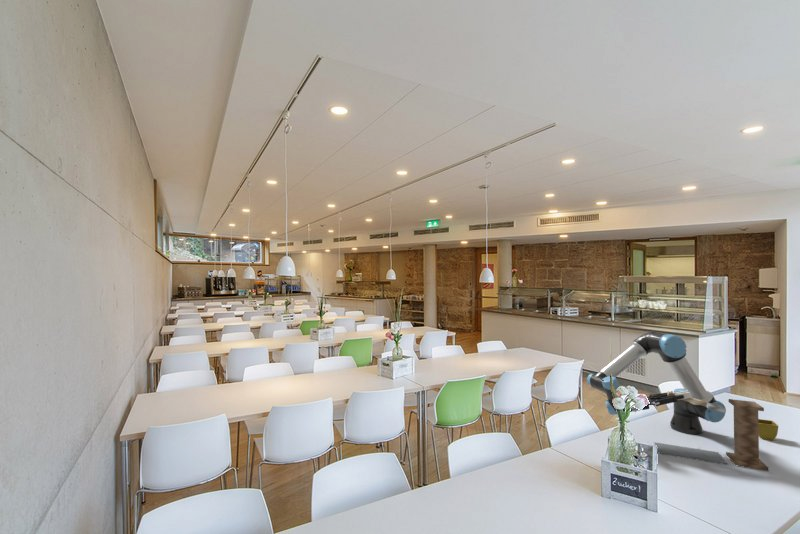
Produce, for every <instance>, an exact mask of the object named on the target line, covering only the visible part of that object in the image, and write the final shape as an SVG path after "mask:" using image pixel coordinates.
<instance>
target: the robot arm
mask: <svg viewBox="0 0 800 534" xmlns="http://www.w3.org/2000/svg"><path fill="white" fill-rule="evenodd" d="M651 353H655V354H658V355H659V357H660V358H661V360H662V361H663V362H664V363H666V364H668V365H669V366H670V368H671V370H672V371H673V373H674V374H675V376H676V378H677V380H678V381H679V383H680V384H681V385H682V387H683V388H675V389H674V390H673V391H670V392H673V393H676V394H675V395H673V396H668V395H667V393H668V391H667V392H661V393H655V394H649V396H646V397H647V398H648V400H649V402H650V404H648V405H647V406H645V407H644V408H643V409H640V410H638V409H636V408H634V407H632V408H631V411H630V412H629V413H631V412H632V413H633V412H634V413H637V412H639V411H641V410H642V411H645V410H650V406H655V407H659V406H663V405H668V404H672V403H673V415H672V417H671V420H670V422H669V423H670V424H669V427H670V426H671V427H670V428H671V429H673V430H674V431H677V432H680V433H685V434H690V435H701V433H702V432H704V431H703V429H704V428H703V426H702V423H701V421H700V418H701V419H703V420H705V421H707V422H711V423H719V422H721V421H722V420H723V419H724V418H725V416H726V413H727V409H726V405H725V404H724V403H723V402H721V401H719V400H717V399H716V398H715V396H714V395H713V394H712V392H711V391H710V390H709V391H708V390H706V388H705V387H704V385H703V384H702V382H701V380H700V379H699V377H698V376H697V374H696V371H694V369H693V367H692V365H691V364H690V363H689V361H688V359H687V358H686V357H687V344H686V342H685V340H684V339H682V338H681V336H678V335H675V334H671V333H665V332H659V331H649V332H645V333H644V334H641V335H639V336H638V337H637V338H635V339H634V340H633V341H632V342H631V343H630V346H629V347H627V348H626V349H625V350H624V351H622V352H621V353H620V354H619V355H617V357H615V358H614V359H613V360H612V361H610V362H609V363H608V364H607V365H605V366H604V367H603V368H601V369H600V370H599V371H598V372H597V373H590V374H588V376H587V377H586V383H587V385H588V386H590V387H591V388H593V389H596V390H598V391H599V392H602V393H604V394H605V396H606V397H607V400H605V401H604V403H605V405H606V406H605V407H606V408H607V412H608V414H609V415H611V416H615V415H618V414H617V412H616V409H615V408H614V406H613V403H612V399H613V396H612V392H611V388H610V375H611V374H612V381H613V386H614V389H617V388H618V387H619V386H620V383H619V381H618V379H617V378H616V377H618V376H619V375H621V374H622V373H623V372H625V370H627V369H628V368H629V367H630V366H631V365H633V364H634V363H635V362H636V361H637V360H639V359H640V358H641V357H645V356H647V355H648V354H651ZM599 378H601V379H602V380H604V381H602V380H601V379H599ZM687 398H694V399H698V400H702V401H705V402H708V403H712V404H716V405H719V406H721V407H723V408H724V409H725V410H726V412H725V413H723V412H720V411H716V410H712V409H709V408H707V407H705V406H702V405H698V404H695V403H691V402H687V401H684V400H681V399H687ZM702 434H703V433H702Z"/></svg>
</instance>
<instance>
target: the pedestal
mask: <svg viewBox="0 0 800 534" xmlns="http://www.w3.org/2000/svg"><path fill="white" fill-rule="evenodd" d="M728 403H729V404H731V405H732V406H733V452H730V451H729V452H728V451H725V456H726V455H727V456H728V457H729V458H730V459H729V458H728V457H727V456H726V457H727V458H728V459H729V460H730V462H731V463H732V464H735V465H738V466H737V467H741V466H744V467H743V468H747V467H750V468H749V469H754V468H755V469H754V470H761V471H767V472H769V467H768V466H767V464H765V463H764V462H763V461H762V459H760V446H759V445H760V441H759V440H760V439H759V438H760V437H759V426H758V419H759V412H764V411H765V407H763V406H762V405H760V404H759V403H757V402H755V401H749V400H741V399H732V398H728ZM735 465H734V466H735Z"/></svg>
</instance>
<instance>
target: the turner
mask: <svg viewBox="0 0 800 534" xmlns="http://www.w3.org/2000/svg"><path fill="white" fill-rule="evenodd" d="M667 392H668V393H667ZM667 392H666V393H667V395H668V396H673V395H675V394H676V393H674V391H672V392H671V391H667ZM681 400H684V401H687V402H691V403H695V404H698V405H702V406H705V407H707V408H709V409H712V410H716V411H720V412H723V413H725V412H726V413H727V409H726V410H725V409H724V408H723V407H721V406H719V405H716V404H712V403H708V402H705V401H702V400H698V399H694V398H687V399H681ZM726 413H725V414H726Z"/></svg>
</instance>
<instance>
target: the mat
mask: <svg viewBox="0 0 800 534" xmlns="http://www.w3.org/2000/svg"><path fill="white" fill-rule="evenodd" d="M654 445H655V446H656V445H657V447H658V449H657V451H658V453H659V454H662V455H665V456H672V457H679V458H685V459H690V460H696V459H697V460H696V461H702V460H704V461H703V462H708V461H710V463H714V462H717V463H716V464H720V463H723V464H722V465H727V464H728V462H727V460H725V458H724V457H723V456H722V455H721V454H720V452H718V451H714V450H713V451H712V450H706V449H699V448H693V447H687V446H682V445H681V446H680V445H674V444H668V443H661V442H656V441H655V442H654ZM657 447H656V448H657Z"/></svg>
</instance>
